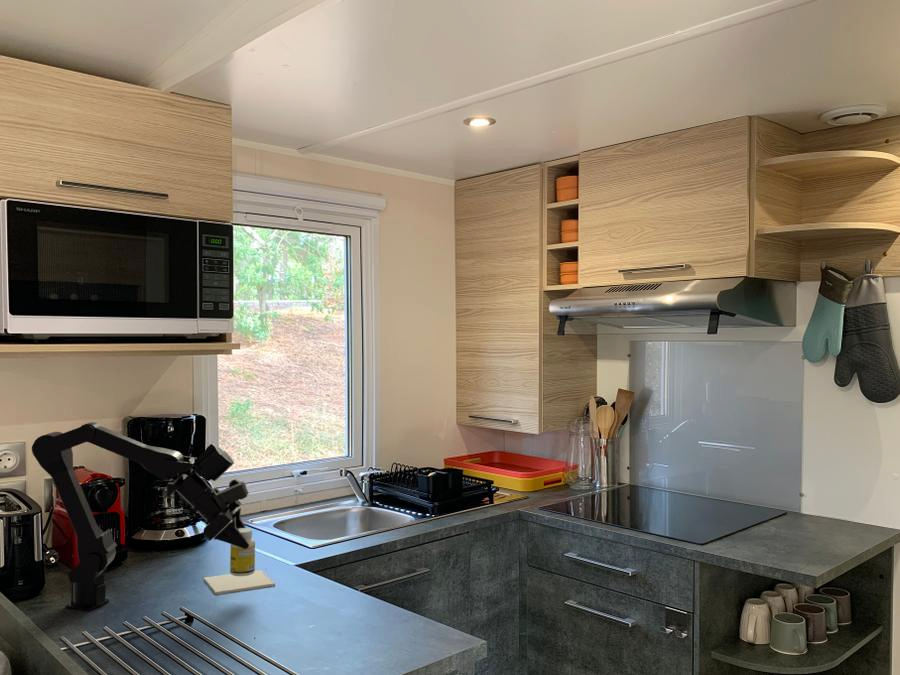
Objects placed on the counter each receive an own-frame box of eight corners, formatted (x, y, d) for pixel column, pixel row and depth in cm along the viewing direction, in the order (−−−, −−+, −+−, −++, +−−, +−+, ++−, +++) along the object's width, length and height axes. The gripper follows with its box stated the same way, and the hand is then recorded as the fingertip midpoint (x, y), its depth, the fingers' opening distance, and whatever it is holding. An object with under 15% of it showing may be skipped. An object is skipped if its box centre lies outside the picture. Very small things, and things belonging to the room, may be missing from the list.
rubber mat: (215, 594, 175) (215, 592, 175) (204, 580, 186) (204, 577, 186) (275, 585, 182) (275, 583, 182) (260, 572, 193) (260, 569, 193)
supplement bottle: (228, 570, 174) (230, 527, 174) (253, 568, 176) (254, 526, 176) (230, 577, 169) (232, 533, 169) (255, 575, 171) (257, 532, 171)
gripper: (220, 477, 163) (272, 528, 164) (232, 463, 181) (278, 509, 183) (181, 514, 161) (233, 565, 163) (197, 496, 180) (244, 542, 181)
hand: (249, 544), depth 173 cm, fingers closed on supplement bottle, 5 cm apart
